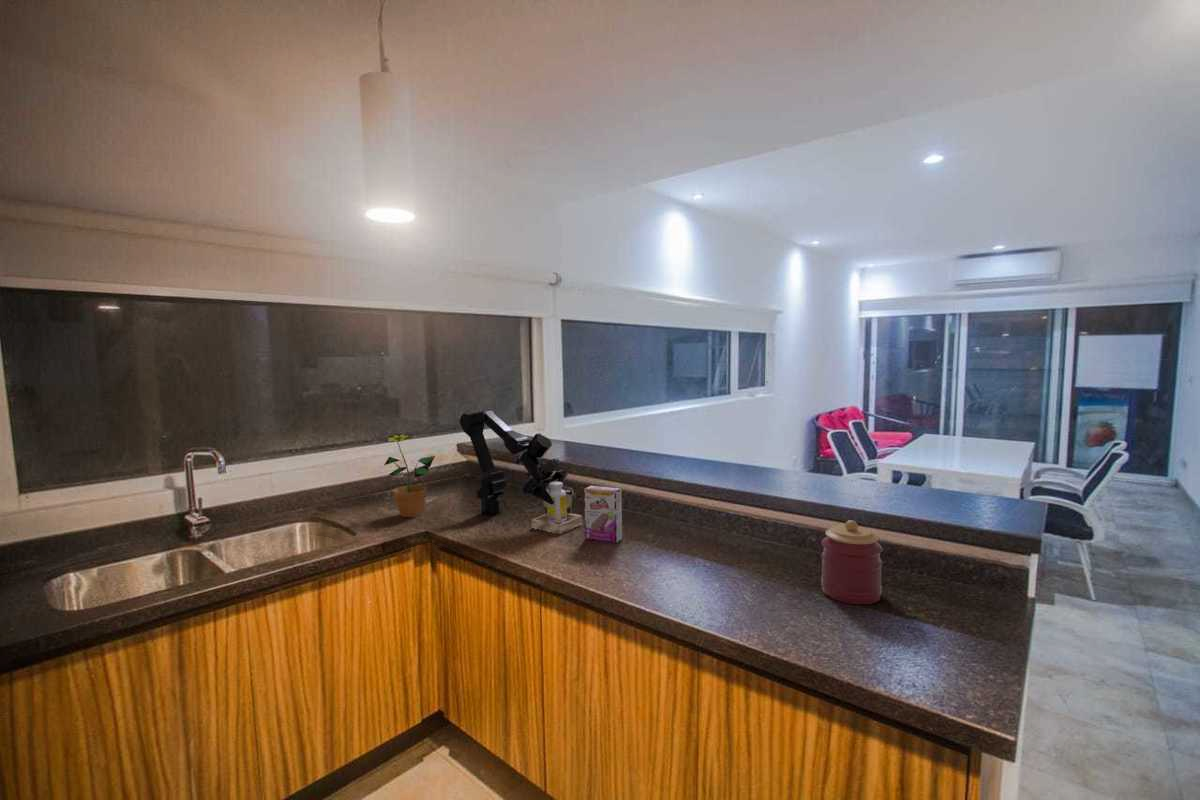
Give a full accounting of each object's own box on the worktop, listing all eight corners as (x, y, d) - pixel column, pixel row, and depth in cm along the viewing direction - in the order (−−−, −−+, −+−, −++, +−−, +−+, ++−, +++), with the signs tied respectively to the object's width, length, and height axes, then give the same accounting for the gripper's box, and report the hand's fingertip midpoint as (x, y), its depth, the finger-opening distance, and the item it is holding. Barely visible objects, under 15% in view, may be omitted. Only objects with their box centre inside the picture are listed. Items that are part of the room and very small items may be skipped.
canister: (878, 610, 118) (880, 532, 116) (816, 598, 125) (816, 523, 123) (883, 588, 129) (885, 516, 127) (826, 578, 135) (826, 509, 134)
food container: (577, 512, 199) (576, 486, 198) (574, 517, 193) (573, 490, 192) (544, 512, 200) (543, 485, 200) (540, 517, 194) (540, 489, 193)
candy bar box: (584, 539, 168) (583, 488, 167) (591, 535, 173) (589, 485, 172) (616, 544, 164) (615, 491, 163) (623, 539, 168) (622, 487, 167)
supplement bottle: (566, 516, 186) (565, 480, 185) (567, 522, 180) (566, 485, 179) (546, 517, 186) (545, 481, 184) (547, 523, 179) (546, 486, 178)
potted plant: (375, 517, 199) (371, 437, 196) (421, 505, 213) (417, 431, 211) (400, 525, 187) (395, 440, 185) (446, 513, 201) (443, 434, 199)
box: (531, 528, 181) (531, 519, 181) (554, 518, 191) (554, 510, 191) (560, 534, 174) (560, 525, 174) (582, 524, 184) (582, 515, 184)
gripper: (528, 455, 175) (555, 493, 170) (563, 447, 191) (588, 481, 185) (510, 476, 180) (536, 513, 175) (546, 466, 196) (570, 500, 190)
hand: (559, 501), depth 181 cm, fingers closed on supplement bottle, 6 cm apart
